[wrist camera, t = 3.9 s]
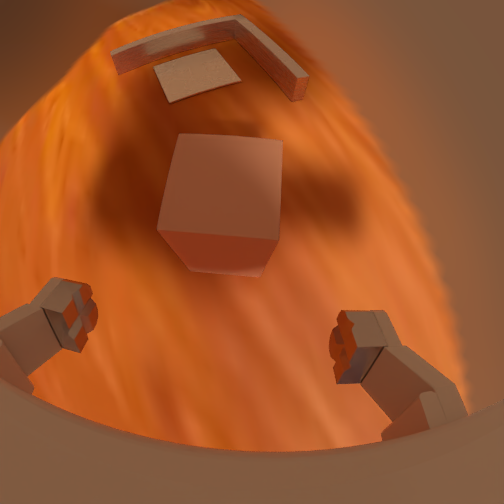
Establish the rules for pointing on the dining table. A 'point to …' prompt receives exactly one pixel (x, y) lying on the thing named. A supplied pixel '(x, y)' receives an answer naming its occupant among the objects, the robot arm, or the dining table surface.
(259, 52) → the corner wall
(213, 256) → the block
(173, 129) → the dining table surface
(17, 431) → the robot arm
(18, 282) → the dining table surface
